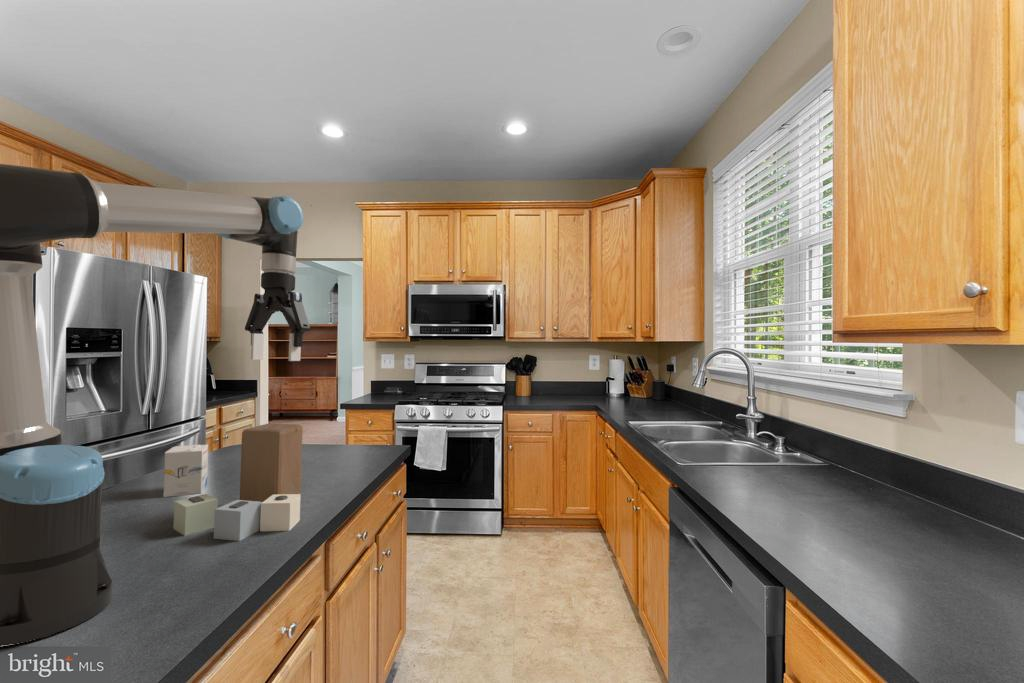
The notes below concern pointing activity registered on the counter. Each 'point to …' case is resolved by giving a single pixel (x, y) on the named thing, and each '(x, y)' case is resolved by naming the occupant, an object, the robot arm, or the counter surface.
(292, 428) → the wooden block
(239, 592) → the counter surface
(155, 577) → the counter surface
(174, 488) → the ink box
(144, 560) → the counter surface
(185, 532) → the marked cube sage
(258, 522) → the marked cube slate
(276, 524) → the marked cube cream
